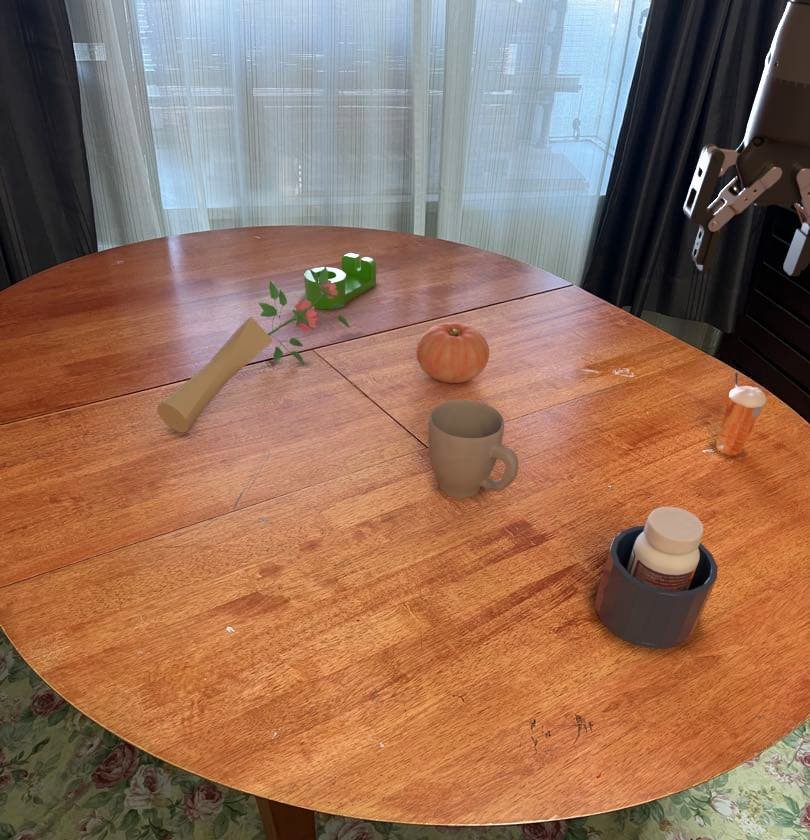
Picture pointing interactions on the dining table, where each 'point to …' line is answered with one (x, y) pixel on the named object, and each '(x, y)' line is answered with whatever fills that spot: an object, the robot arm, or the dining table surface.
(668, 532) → the pill bottle
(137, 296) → the dining table surface
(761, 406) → the milkshake
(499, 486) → the mug
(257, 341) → the flower vase
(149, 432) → the dining table surface
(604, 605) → the pen holder
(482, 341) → the pumpkin
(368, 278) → the tape dispenser
